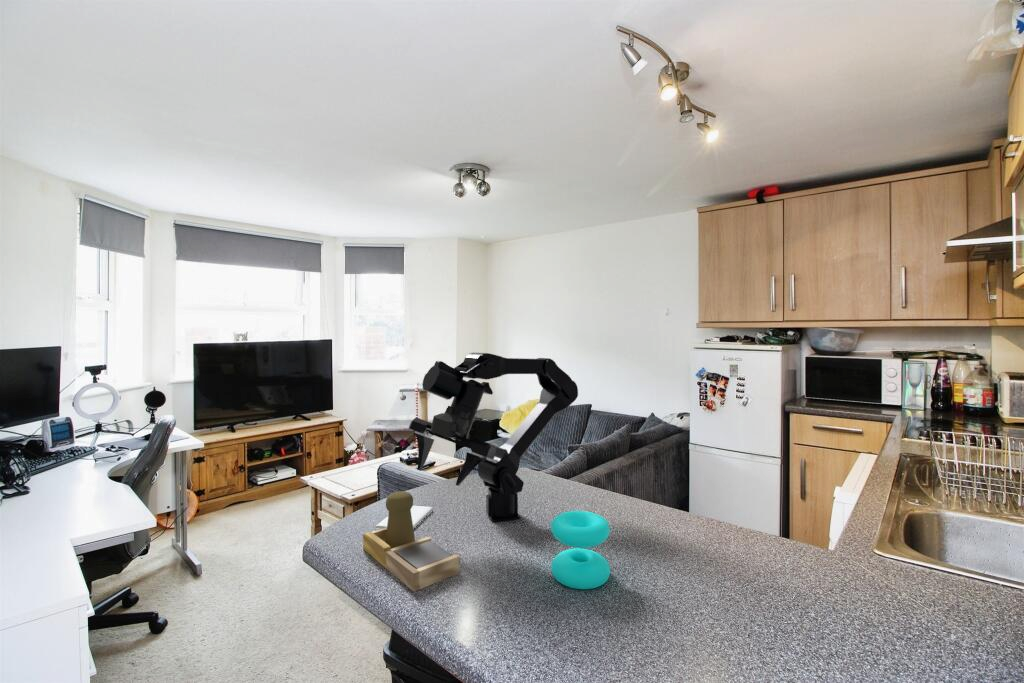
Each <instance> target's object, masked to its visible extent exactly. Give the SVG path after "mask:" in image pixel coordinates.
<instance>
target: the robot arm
mask: <svg viewBox="0 0 1024 683" xmlns="http://www.w3.org/2000/svg"><path fill="white" fill-rule="evenodd" d="M505 375H536V376H537V380H538V383H539V385H540V387H541V388H542V389H541V391H540V395H539V401H538V402H537V404H535V406H534V408H533V409H532V410H531V411H530V413H529V414H528V415H527V416H526V417H525V418H524V420H523V421H522V422H521V423H520V425H518V427H517V428H516V429H515V430H514V432H512V434H511V435H510V436H509V438H507V440H506V441H505V443H504V444H502V445H501V446H497V445H494V444H492V443H490V442H486V441H483V440H482V439H477V438H474V439H473V440H471V439H470V435H471V434H469V433H470V431H471V428H472V426H473V423H474V422H475V421H476V420H477V416H476V414H477V412H478V409H479V406H480V403H481V402H482V398H483V395H484V394H485V395H493V394H494V392H493V389H492V388H491V385H490V383H489V382H486V381H482V382H479V381H477V380H475V379H479V380H490V379H491V380H492V379H495V378H496V379H497V378H500V377H503V376H505ZM464 378H466V379H467V378H468V379H469V380H465V379H464ZM422 389H423V390H424V391H425V392H427V393H430V394H432V395H435V396H437V397H440V398H442V399H444V400H451V399H452V398H453V399H452V402H451V404H450V405H448V406H447V407H446V409H445V411H444V412H443V413H442V412H441V413H439V414H436V415H433V416H432V417H433V418H432V422H430V421H428V420H425V419H421V418H419V417H415V418H413V419H412V420H411V422H410V424H409V426H408V429H409V430H412V431H413V432H412V435H413V436H415V438H416V442H417V450H418V452H417V470H418V471H420V472H421V471H422V470H423V467H424V466H425V464H426V462H427V460H428V456H429V454H430V451H431V449H432V447H433V445H434V442H435V439H434V438H432V437H437V438H439V439H443V440H445V441H448V442H452V443H453V444H457V445H459V446H462V447H465V448H468V449H470V450H471V452H468V451H467V452H466V453H465V454H466V455H465V460H464V463H463V464H462V467H461V469H460V472H459V474H458V475H457V479H456V482H455V485H456V486H460V485H461V484H462V483H463V481H464V480H465V479H466V478H467V476H468V475H469V474H470V473H471V472H472V471H473V470H474V469H475V468H476V467H477V474H478V476H479V478H480V479H481V480H482V482H483V485H484V487H486V488H487V491H488V492H487V494H486V495H485V509H486V510H485V511H486V515H488V517H489V519H490V520H491V522H501V521H502V522H503V521H510V520H519V519H521V515H520V514H519V505H518V504H519V500H518V499H519V498H518V493H522V491H523V488H524V483H525V482H524V481H523V480H522V479H521V478H520V477H519V476H518V475H517V473H518V471H519V468H520V467H519V466H520V462H521V458H522V457H523V455H524V454H525V453H526V452H527V450H528V449H529V447H530V446H531V445H532V444H533V443H534V441H535V440H536V439H537V437H538V436H539V435H540V434H541V432H542V431H543V430H544V429H545V427H546V426H547V425H549V422H550V421H551V420H552V419H553V417H554V416H555V415H556V414H557V413H560V412H561V411H563V410H566V409H567V408H569V407H570V406H571V405H572V404H573V403H574V402H575V401H576V400H577V398H578V397H579V389H578V385H577V382H576V381H575V380H572V378H571V377H570V376H569V374H567V373H566V372H565V371H564V370H563V369H561V368H560V366H558V364H557V363H556V361H554V359H552V358H547V357H546V358H545V357H538V358H520V357H519V358H518V357H517V358H516V357H515V358H513V357H503V356H501V355H498V354H495V353H494V354H493V353H488V352H487V353H486V352H469V353H467V355H466V356H465V357H464V358H463V361H462V362H460V363H458V364H456V366H454V367H452V366H450V365H448V364H447V363H446V362H444V361H441V360H435V363H434V364H433V365H432V366H431V367H430V368H429V369H428V371H427V372H426V373H425V374H424V377H423V380H422ZM457 436H458V438H457ZM459 438H460V439H459Z"/></svg>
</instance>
